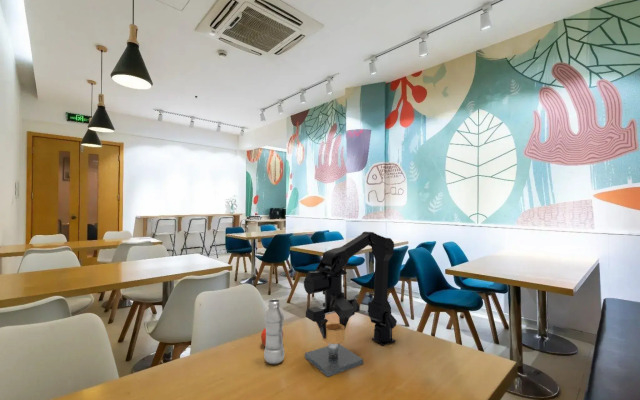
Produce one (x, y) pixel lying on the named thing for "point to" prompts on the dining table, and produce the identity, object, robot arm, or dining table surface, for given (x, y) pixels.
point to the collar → (335, 333)
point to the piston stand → (333, 359)
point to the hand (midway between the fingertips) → (333, 335)
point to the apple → (263, 336)
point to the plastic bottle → (274, 333)
